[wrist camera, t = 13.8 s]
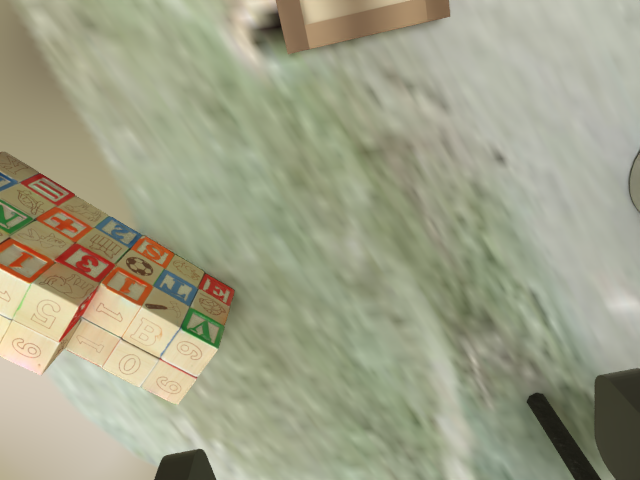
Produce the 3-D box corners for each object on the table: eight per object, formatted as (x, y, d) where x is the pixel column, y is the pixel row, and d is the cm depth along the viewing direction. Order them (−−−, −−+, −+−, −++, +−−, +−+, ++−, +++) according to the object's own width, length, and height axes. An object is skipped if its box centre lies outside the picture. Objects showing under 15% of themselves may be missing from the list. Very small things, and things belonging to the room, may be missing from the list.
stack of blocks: (238, 288, 42) (212, 378, 31) (201, 338, 44) (165, 440, 33) (2, 149, 37) (-133, 195, 26) (-28, 212, 39) (-166, 280, 28)
